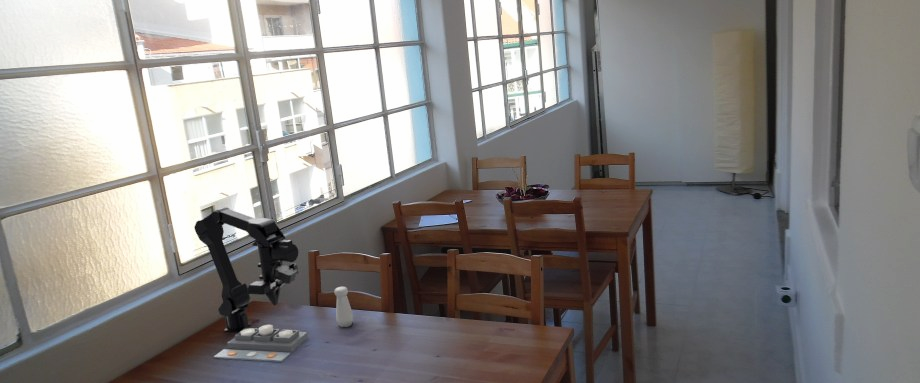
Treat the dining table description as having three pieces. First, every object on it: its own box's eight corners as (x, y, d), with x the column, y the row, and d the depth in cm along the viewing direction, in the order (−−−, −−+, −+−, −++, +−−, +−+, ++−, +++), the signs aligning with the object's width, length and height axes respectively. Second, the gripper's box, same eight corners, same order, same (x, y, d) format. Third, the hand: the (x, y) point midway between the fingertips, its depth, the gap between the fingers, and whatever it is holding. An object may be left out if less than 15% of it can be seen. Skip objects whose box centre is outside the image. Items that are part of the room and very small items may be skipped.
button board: (228, 348, 219) (226, 338, 219) (246, 335, 229) (244, 325, 228) (291, 352, 212) (289, 341, 211) (307, 338, 222) (306, 327, 221)
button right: (276, 341, 216) (275, 335, 216) (284, 335, 221) (283, 329, 220) (288, 341, 215) (288, 336, 215) (296, 335, 219) (295, 330, 219)
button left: (238, 339, 221) (237, 334, 220) (246, 333, 225) (245, 328, 224) (250, 339, 219) (249, 334, 219) (258, 333, 224) (257, 328, 223)
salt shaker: (350, 328, 226) (345, 291, 223) (334, 328, 227) (329, 291, 224) (356, 321, 231) (351, 284, 229) (340, 321, 233) (335, 284, 230)
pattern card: (214, 358, 213) (213, 355, 213) (224, 350, 218) (223, 348, 218) (281, 362, 206) (281, 359, 206) (290, 354, 211) (290, 352, 211)
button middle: (256, 335, 218) (255, 330, 218) (264, 329, 222) (263, 324, 222) (268, 336, 217) (267, 330, 217) (276, 330, 221) (275, 324, 221)
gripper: (274, 270, 209) (280, 318, 213) (306, 250, 226) (311, 295, 230) (243, 268, 213) (250, 315, 216) (277, 249, 230) (283, 293, 234)
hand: (275, 304), depth 224 cm, fingers closed
